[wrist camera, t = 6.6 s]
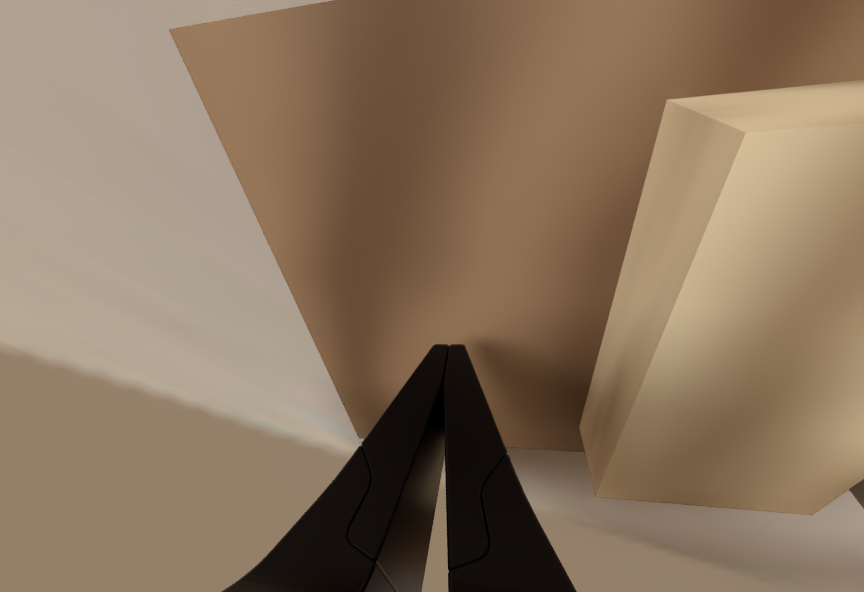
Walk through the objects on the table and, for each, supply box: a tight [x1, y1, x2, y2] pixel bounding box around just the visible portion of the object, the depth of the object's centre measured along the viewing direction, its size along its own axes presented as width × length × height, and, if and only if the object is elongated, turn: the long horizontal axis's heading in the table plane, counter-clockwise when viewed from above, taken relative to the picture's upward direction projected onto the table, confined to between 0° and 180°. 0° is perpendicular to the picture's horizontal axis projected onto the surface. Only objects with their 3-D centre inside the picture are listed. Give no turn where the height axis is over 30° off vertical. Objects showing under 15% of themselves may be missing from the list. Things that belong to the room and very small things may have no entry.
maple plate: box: [579, 80, 864, 515], centre depth 8 cm, size 6×11×2 cm, turn 7°
